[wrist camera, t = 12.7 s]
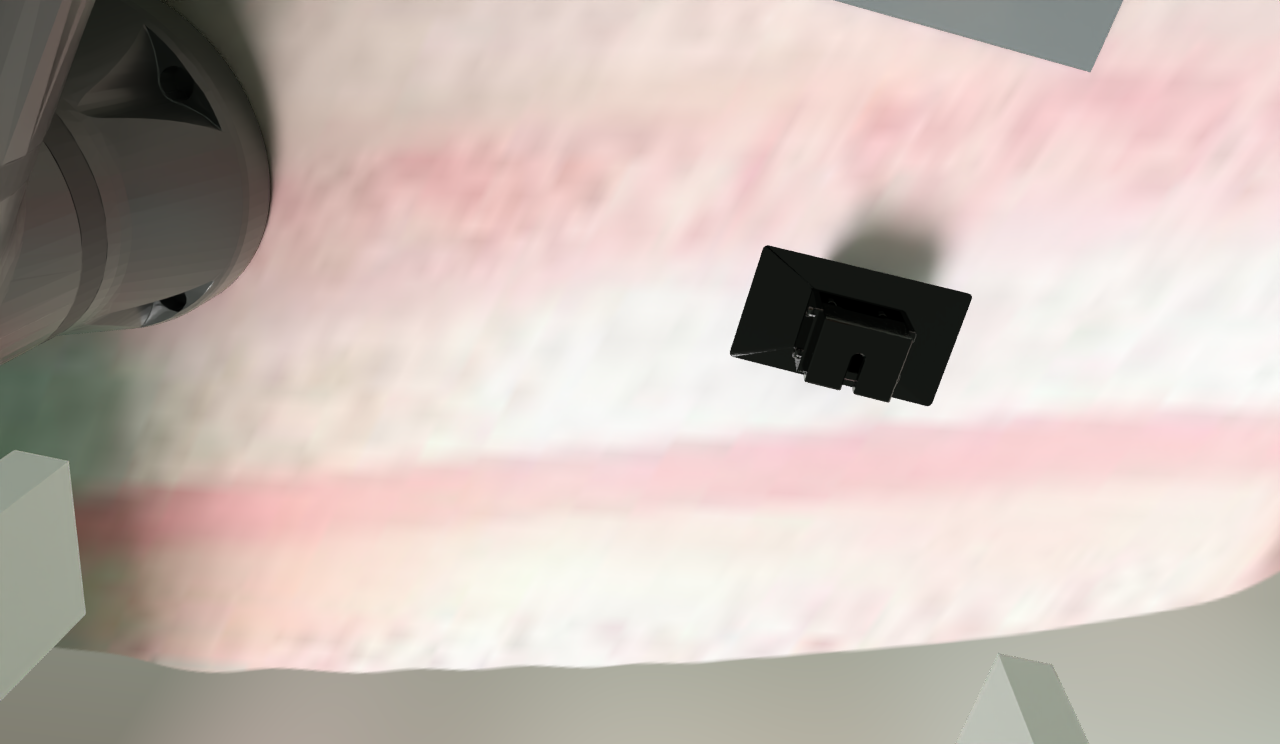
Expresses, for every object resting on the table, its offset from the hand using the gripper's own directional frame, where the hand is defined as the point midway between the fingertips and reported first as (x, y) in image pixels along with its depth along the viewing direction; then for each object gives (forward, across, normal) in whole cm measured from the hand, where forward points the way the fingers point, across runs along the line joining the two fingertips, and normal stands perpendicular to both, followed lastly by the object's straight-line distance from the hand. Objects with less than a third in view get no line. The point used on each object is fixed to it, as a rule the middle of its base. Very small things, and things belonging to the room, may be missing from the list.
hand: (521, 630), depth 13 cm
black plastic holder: (+28, +10, -4) cm, 30 cm away
